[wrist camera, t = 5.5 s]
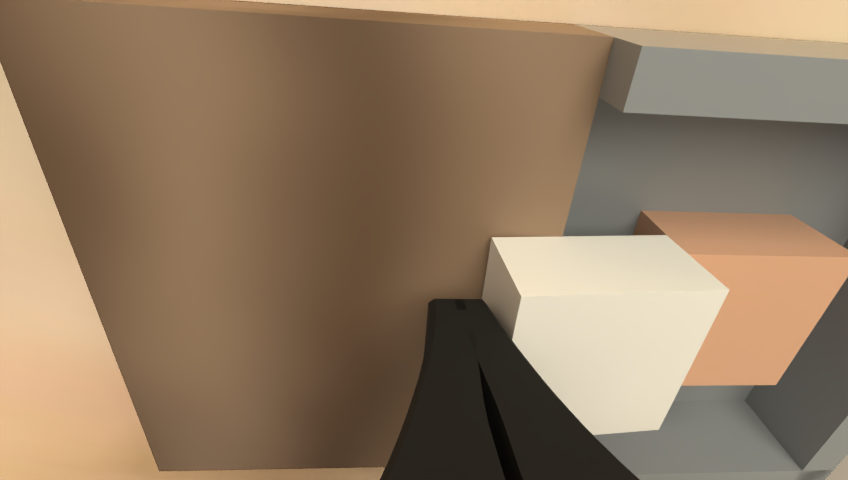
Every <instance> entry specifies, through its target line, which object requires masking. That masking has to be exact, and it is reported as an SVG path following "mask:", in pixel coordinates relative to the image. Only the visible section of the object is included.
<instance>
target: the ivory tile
mask: <svg viewBox="0 0 848 480" xmlns="http://www.w3.org/2000/svg"><path fill="white" fill-rule="evenodd" d="M728 292H729V289H728V288H727V287H726V286H725V285H723V284H722V283H721V282H720V281H719V280H718V279H717V278H715V277H714V276H713V275H712V274H711V273H710V272H708V271H707V270H706V269H705V268H704V267H703V266H702V265H700V264H699V263H698V262H697V261H696V260H695V259H693V258H692V257H691V256H690V255H689V254H688V253H687V252H685V251H684V250H683V249H682V248H681V247H680V246H678V245H677V244H676V243H675V242H674V241H673V240H672V239H670V238H669V237H668V236H667V235H632V236H563V237H492V238H491V244H490V250H489V256H488V263H487V269H486V275H485V281H484V288H483V294H482V300H483V301H484V302H485V303H486V304H487V305H488V307H489V308H490V310H491V311H492V313H493V314H494V316H495V317H496V319H497V320H498V321H499V323H500V324H501V326H502V327H503V328H504V330H505V331H506V333H507V334H508V335H509V337H510V338H511V339H512V341H513V342H514V343H515V345H516V346H517V347H518V349H519V350H520V351H521V353H522V354H523V355H524V357H525V358H526V359H527V360H528V362H529V363H530V364H531V365H532V366H533V368H534V369H535V370H536V371H537V373H538V374H539V375H540V376H541V378H542V379H543V380H544V381H545V383H546V384H547V385H548V386H549V387H550V388H551V390H552V391H553V392H554V393H555V394H556V395H557V397H558V398H559V399H560V400H561V401H562V402H563V403H564V404H565V405H566V407H567V408H568V409H569V410H570V411H571V412H572V413H573V414H574V416H575V417H576V418H577V419H578V420H579V421H580V422H581V423H582V424H583V425H584V426H585V427H586V428H587V429H588V430H589V431H590V432H591V433H592V434H593V435H600V434H612V433H625V432H637V431H649V430H659V428H660V426H661V424H662V422H663V420H664V418H665V416H666V415H667V413H668V411H669V409H670V407H671V405H672V403H673V401H674V399H675V397H676V395H677V393H678V391H679V389H680V387H681V385H682V383H683V381H684V379H685V377H686V375H687V373H688V371H689V369H690V367H691V365H692V363H693V361H694V359H695V357H696V355H697V353H698V351H699V349H700V348H701V346H702V344H703V342H704V340H705V338H706V336H707V334H708V332H709V330H710V328H711V326H712V324H713V322H714V320H715V318H716V316H717V314H718V312H719V310H720V308H721V306H722V304H723V302H724V300H725V298H726V296H727V294H728Z"/></svg>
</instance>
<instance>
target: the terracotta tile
mask: <svg viewBox="0 0 848 480" xmlns="http://www.w3.org/2000/svg"><path fill="white" fill-rule="evenodd" d="M633 235H667V236H668V237H669V238H670V239H672V240H673V241H674V242H675V243H676V244H677V245H678V246H680V247H681V248H682V249H683V250H684V251H685V252H687V253H688V254H689V255H690V256H691V257H692V258H693V259H695V260H696V261H697V262H698V263H699V264H700V265H702V266H703V267H704V268H705V269H706V270H707V271H708V272H710V273H711V274H712V275H713V276H714V277H715V278H717V279H718V280H719V281H720V282H721V283H722V284H723V285H725V286H726V287H727V288H728V289H729V292H728V294H727V296H726V298H725V300H724V302H723V304H722V306H721V308H720V310H719V312H718V314H717V316H716V318H715V320H714V322H713V324H712V326H711V328H710V330H709V332H708V334H707V336H706V338H705V340H704V342H703V344H702V346H701V348H700V349H699V351H698V353H697V355H696V357H695V359H694V361H693V363H692V365H691V367H690V369H689V371H688V373H687V375H686V377H685V379H684V381H683V383H682V385H681V386H711V385H776V384H777V383H778V381H779V380H780V378H781V377H782V375H783V374H784V372H785V371H786V369H787V368H788V366H789V365H790V363H791V362H792V360H793V359H794V357H795V356H796V354H797V352H798V351H799V349H800V348H801V346H802V345H803V343H804V342H805V340H806V339H807V337H808V336H809V334H810V333H811V331H812V330H813V328H814V327H815V325H816V324H817V322H818V321H819V319H820V318H821V316H822V315H823V313H824V312H825V310H826V309H827V307H828V306H829V304H830V303H831V301H832V300H833V298H834V297H835V295H836V294H837V292H838V291H839V289H840V288H841V286H842V285H843V283H844V282H845V280H846V279H847V277H848V250H847V249H846V248H844V247H843V246H841V245H839V244H838V243H836V242H835V241H833V240H831V239H830V238H828V237H826V236H825V235H823V234H822V233H820V232H818V231H817V230H815V229H814V228H812V227H810V226H809V225H807V224H805V223H804V222H802V221H801V220H799V219H797V218H796V217H794V216H793V215H787V214H751V213H715V212H679V211H643V210H641V213H640V216H639V219H638V222H637V225H636V227H635V230H634V233H633Z"/></svg>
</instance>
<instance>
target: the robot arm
mask: <svg viewBox="0 0 848 480" xmlns="http://www.w3.org/2000/svg"><path fill="white" fill-rule="evenodd" d="M380 480H640V479H638V478H637V477H636V476H635V475H634V474H633V473H632V472H631V471H630V470H629V469H628V468H627V467H625V466H624V465H623V464H622V463H621V462H620V461H619V460H618V459H617V458H616V457H615V456H614V455H613V454H612V453H611V452H610V451H609V450H608V449H607V448H606V447H605V446H604V445H603V444H602V443H601V442H600V441H599V440H597V439H596V437H595V436H594V435H593V434H592V433H591V432H590V431H589V430H588V429H587V428H586V427H585V426H584V425H583V424H582V423H581V422H580V421H579V420H578V419H577V418H576V417H575V416H574V414H573V413H572V412H571V411H570V410H569V409H568V408H567V407H566V405H565V404H564V403H563V402H562V401H561V400H560V399H559V398H558V397H557V395H556V394H555V393H554V392H553V391H552V390H551V388H550V387H549V386H548V385H547V384H546V383H545V381H544V380H543V379H542V378H541V376H540V375H539V374H538V373H537V371H536V370H535V369H534V368H533V366H532V365H531V364H530V363H529V362H528V360H527V359H526V358H525V357H524V355H523V354H522V353H521V351H520V350H519V349H518V347H517V346H516V345H515V343H514V342H513V341H512V339H511V338H510V337H509V335H508V334H507V333H506V331H505V330H504V328H503V327H502V326H501V324H500V323H499V321H498V320H497V319H496V317H495V316H494V314H493V313H492V311H491V310H490V308H489V307H488V305H487V304H486V303H485V302H484V301H483V300H482V299H433V300H432V301H430V302H429V303H428V313H427V325H426V336H425V347H424V358H423V362H422V366H421V371H420V374H419V378H418V381H417V384H416V388H415V391H414V394H413V397H412V400H411V403H410V406H409V409H408V412H407V415H406V418H405V421H404V423H403V426H402V429H401V431H400V434H399V436H398V439H397V441H396V444H395V446H394V449H393V451H392V454H391V456H390V458H389V461H388V463H387V465H386V468H385V470H384V472H383V474H382V477H381V479H380Z"/></svg>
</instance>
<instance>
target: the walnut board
mask: <svg viewBox="0 0 848 480" xmlns="http://www.w3.org/2000/svg"><path fill="white" fill-rule="evenodd" d="M613 40H614V37H612V36H609V35H606V34H603V33H600V32H597V31H593V30H590V29H587V28H584V27H581V26H578V25H574V24H563V23H548V22H534V21H520V20H505V19H491V18H477V17H462V16H448V15H434V14H419V13H405V12H391V11H377V10H362V9H348V8H334V7H319V6H305V5H291V4H276V3H262V2H248V1H233V0H0V62H1V65H2V67H3V70H4V72H5V75H6V77H7V80H8V83H9V85H10V88H11V90H12V93H13V96H14V98H15V101H16V103H17V106H18V108H19V111H20V114H21V116H22V119H23V121H24V124H25V126H26V129H27V132H28V134H29V137H30V139H31V142H32V144H33V147H34V150H35V152H36V155H37V157H38V160H39V162H40V165H41V168H42V170H43V173H44V175H45V178H46V181H47V183H48V186H49V188H50V191H51V193H52V196H53V199H54V201H55V204H56V206H57V209H58V211H59V214H60V217H61V219H62V222H63V224H64V227H65V229H66V232H67V235H68V237H69V240H70V242H71V245H72V247H73V250H74V253H75V255H76V258H77V260H78V263H79V266H80V268H81V271H82V273H83V276H84V278H85V281H86V284H87V286H88V289H89V291H90V294H91V296H92V299H93V302H94V304H95V307H96V309H97V312H98V314H99V317H100V320H101V322H102V325H103V327H104V330H105V332H106V335H107V338H108V340H109V343H110V345H111V348H112V351H113V353H114V356H115V358H116V361H117V363H118V366H119V369H120V371H121V374H122V376H123V379H124V381H125V384H126V387H127V389H128V392H129V394H130V397H131V399H132V402H133V405H134V407H135V410H136V412H137V415H138V417H139V420H140V423H141V425H142V428H143V430H144V433H145V436H146V438H147V441H148V443H149V446H150V448H151V451H152V454H153V456H154V459H155V461H156V464H157V466H158V469H159V471H200V470H252V469H304V468H357V467H386V465H387V463H388V461H389V458H390V456H391V454H392V451H393V449H394V446H395V444H396V441H397V439H398V436H399V434H400V431H401V429H402V426H403V423H404V421H405V418H406V415H407V412H408V409H409V406H410V403H411V400H412V397H413V394H414V391H415V388H416V384H417V381H418V378H419V374H420V371H421V366H422V362H423V358H424V347H425V336H426V325H427V313H428V303H429V302H430V301H432V300H433V299H482V294H483V288H484V281H485V275H486V269H487V263H488V256H489V250H490V244H491V238H492V237H563V233H564V229H565V225H566V221H567V217H568V214H569V210H570V206H571V202H572V198H573V194H574V190H575V187H576V183H577V179H578V175H579V171H580V167H581V164H582V160H583V156H584V152H585V148H586V144H587V140H588V137H589V133H590V129H591V125H592V121H593V117H594V113H595V110H596V106H597V102H598V98H599V94H600V90H601V87H602V83H603V79H604V75H605V71H606V67H607V63H608V60H609V56H610V52H611V48H612V44H613Z"/></svg>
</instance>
